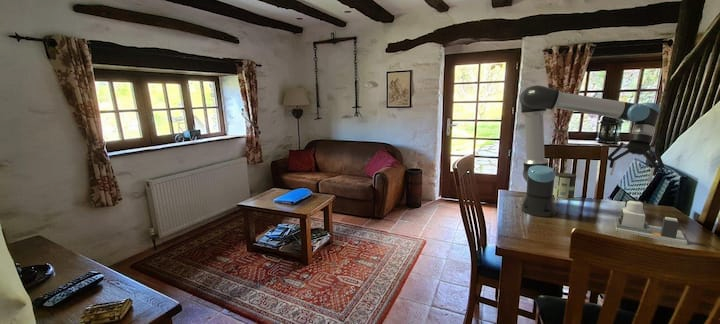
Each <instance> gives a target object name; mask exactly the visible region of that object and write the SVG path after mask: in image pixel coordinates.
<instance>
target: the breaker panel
mask: <svg viewBox="0 0 720 324" xmlns="http://www.w3.org/2000/svg"><path fill="white" fill-rule="evenodd" d="M620 220H621V217H616V216H615V221H614V222H615V231H616V232H617V231H618V232H619V233H623V232H625V233H624V234H628V233H629V235H633V234H634V236H638V235H639V236H638V237H644V238H650V239H655V240H660V239H661V240H660V241H665V240H668V241H667V242H670V241H672V243H675V242H676V244H682V245H686V244H687V245H688V241H687V239H686V237H685V236H684V234H683V233H682V230H679V229H678V230H677V235H676V239H674V238H669V237H664V236H661V228H662V226H655V225H649V223H648V222H647V221H645V222H644V228H643V229H642V228H637V227H631V226H625V225H621V224H620Z"/></svg>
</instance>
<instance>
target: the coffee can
mask: <svg viewBox="0 0 720 324" xmlns="http://www.w3.org/2000/svg"><path fill="white" fill-rule="evenodd" d="M576 179H577V174H575V173H571V172H555V178H554V187H553V195H554V197H553V198H556V199H559V200H566V201H572V200H574V199H575V198H574V197H575V189H576V188H575V187H576V181H577V180H576Z"/></svg>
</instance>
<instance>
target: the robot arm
mask: <svg viewBox="0 0 720 324" xmlns="http://www.w3.org/2000/svg"><path fill="white" fill-rule="evenodd" d="M519 102H520V109H521V111H520V112H521V114H522V115H523V116H524V126H525V127H524V128H525V129H524V130H525V155H526V156H525V157H526V159H525V160H523V161H522V162H523V170H522V176H523V179H524V181H525V182H526V192H525V193H526V194H525V198H524V200H523V201H522V203H521V206H520V207H521V208H520V210H521V212H523V213H525V214H528V215H531V216H536V217H543V218H545V217H553V216H555V214H556V209H555V205H554V201H553V194H554V184H555V173H556V171H555V170H554V169H553V168H552V167H551V166H550V167H549V160H547V159H546V158H545V157H546V156H545V137H544V136H545V134H544V133H545V129H544V124H545V123H544V114H545V113H546V112H547V110H556V109H558V110H559V109H560V110H565V111H571V112H572V111H573V112H579V113H583V114H591V115H596V116H602V117H603V116H604V117H607V118H611V119H617V120H621V121H627V122H632V123H633V127H632V130H631V134H630V138H629V140H628V143H624V142H623V141H621V142H620V143H619V145H618V146H617V147H616V148H615V149H614V150H613V151H612V152H611V153H610V154H609V155H608V156H607V157H606V160H608V161H609V162H610V163H609V168H610V169H611V171H610V174H609V175H610V176H613V173H614V171H615V166H616V163H617V160H619V159H621V158H622V157H624V156H626V155H628V154H632V155H638V156H642V155H643V157H645V159H646V160H647V162H648V163H649V164H650V166H652V167H651V168H650V171H649V175H648V179H647V182H648V183H651V182H652V179H653V176H656V175H657V173H658V169H660V170H661V169H664V167H665V164H664V161H663V159H662V157H661V154H660V151H659V149H660V147H659V146H655V147H654V146H653V147H652V146H651V144H652V140H653V135H654V133H655V129H656V125H657V121H658V119H659V115H660V110H661V106H660V105H659V103H655V102H642V103H640V102H639V103H634V102H633V103H632V102H627V101H620V100H614V99H606V98H599V97H596V96H595V97H594V96H588V95H579V94H575V93H567V92H561V90H560V89H556V88H550V87H547V86H543V85H537V84H536V85H532V86H528V87H526V88H525V89H524V90H523V91H522V92H521V93H520V95H519ZM625 147H626V148H627V150H625V151H623V152H621V153H619V154H618V155H616V154H617V153H618V152H619V151H621V149H622V148H625ZM649 151H651V152H652V153H653V155H654V157H655V159H656V161H655V160H654V159H653V158H652V156H651V155H650V154H649ZM615 155H616V156H615Z"/></svg>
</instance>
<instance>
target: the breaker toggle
mask: <svg viewBox="0 0 720 324" xmlns="http://www.w3.org/2000/svg"><path fill="white" fill-rule="evenodd" d="M679 224H680V221H679V220H678V219H677V218H676V217H669V216H665V217H663V218H662V224H661V227H662V228H661V236H664V237H669V238H674V239H676V235H677V230H679V229H678V228H679Z"/></svg>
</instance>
